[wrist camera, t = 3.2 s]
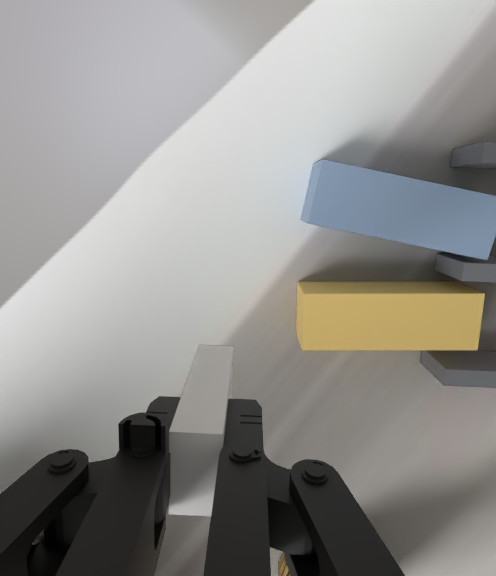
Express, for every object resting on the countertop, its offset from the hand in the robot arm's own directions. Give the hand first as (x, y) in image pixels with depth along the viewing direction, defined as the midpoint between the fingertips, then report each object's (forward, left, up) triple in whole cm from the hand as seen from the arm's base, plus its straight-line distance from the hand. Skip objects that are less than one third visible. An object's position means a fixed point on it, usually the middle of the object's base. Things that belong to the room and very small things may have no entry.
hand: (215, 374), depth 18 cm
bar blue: (+11, +7, -14) cm, 19 cm away
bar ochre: (+11, 0, -14) cm, 18 cm away
